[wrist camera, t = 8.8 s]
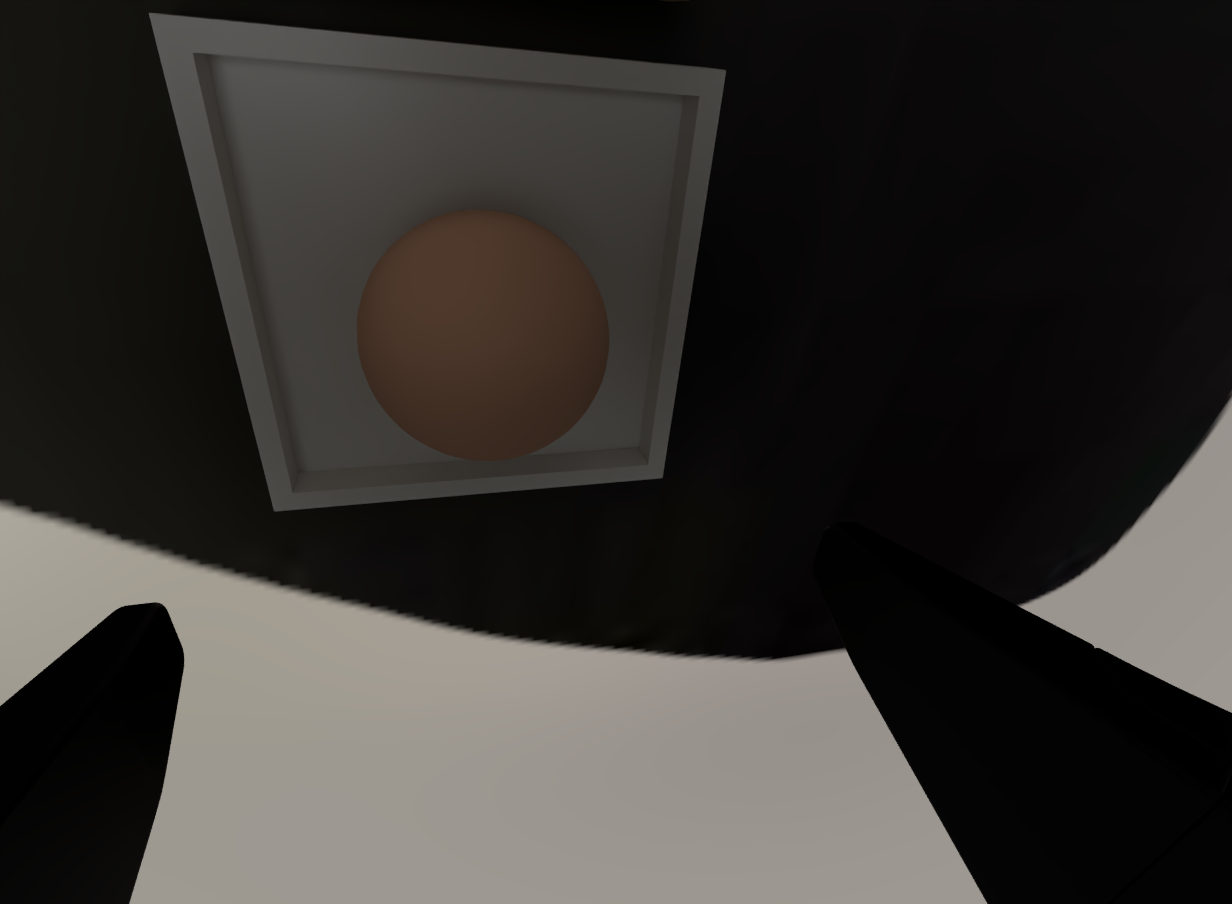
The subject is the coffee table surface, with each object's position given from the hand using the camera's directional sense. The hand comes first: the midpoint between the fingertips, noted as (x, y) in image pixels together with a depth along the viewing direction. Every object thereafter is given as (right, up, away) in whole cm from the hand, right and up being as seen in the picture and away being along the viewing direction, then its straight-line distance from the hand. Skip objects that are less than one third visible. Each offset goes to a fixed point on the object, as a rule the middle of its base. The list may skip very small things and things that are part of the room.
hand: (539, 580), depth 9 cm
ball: (-3, +6, +9) cm, 12 cm away
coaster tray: (-3, +6, +10) cm, 12 cm away
